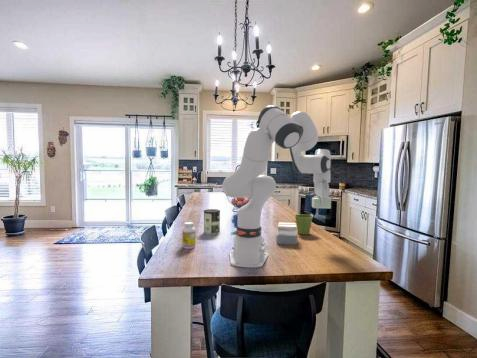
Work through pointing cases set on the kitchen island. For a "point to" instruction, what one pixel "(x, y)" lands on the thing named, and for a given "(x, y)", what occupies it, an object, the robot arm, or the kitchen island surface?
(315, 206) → the sage brick
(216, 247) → the kitchen island surface
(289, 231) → the cream top block
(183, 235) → the supplement bottle
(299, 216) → the plant pot
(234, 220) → the grapes
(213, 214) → the coffee can
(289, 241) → the grey base block
